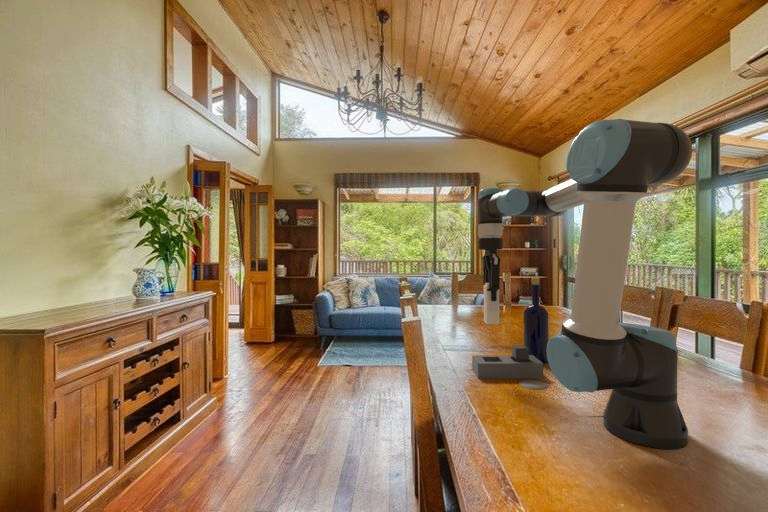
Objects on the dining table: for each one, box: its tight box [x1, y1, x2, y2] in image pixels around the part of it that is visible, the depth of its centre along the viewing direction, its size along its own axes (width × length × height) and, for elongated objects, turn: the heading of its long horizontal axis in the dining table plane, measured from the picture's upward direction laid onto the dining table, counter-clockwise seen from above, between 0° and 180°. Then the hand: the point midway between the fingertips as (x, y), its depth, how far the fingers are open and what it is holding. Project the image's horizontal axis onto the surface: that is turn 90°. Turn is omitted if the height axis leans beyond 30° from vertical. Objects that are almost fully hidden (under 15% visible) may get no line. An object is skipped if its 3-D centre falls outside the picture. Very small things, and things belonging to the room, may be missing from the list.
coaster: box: [518, 379, 549, 391], centre depth 108 cm, size 8×8×1 cm
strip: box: [471, 344, 544, 379], centre depth 118 cm, size 10×20×9 cm, turn 88°
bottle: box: [523, 277, 550, 365], centre depth 132 cm, size 9×9×30 cm
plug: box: [483, 283, 500, 325], centre depth 118 cm, size 4×4×13 cm
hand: (491, 309), depth 118 cm, fingers closed on plug, 4 cm apart
